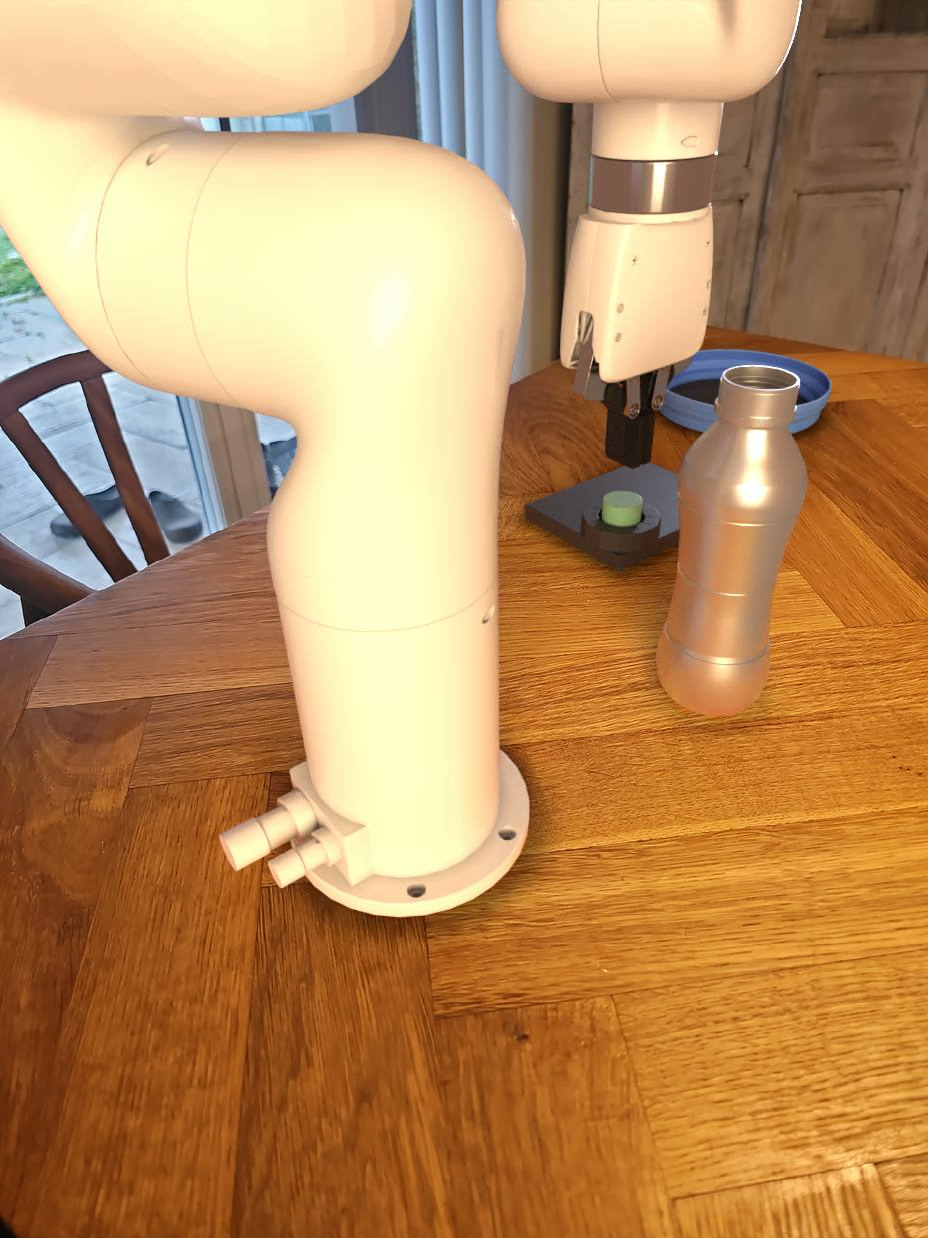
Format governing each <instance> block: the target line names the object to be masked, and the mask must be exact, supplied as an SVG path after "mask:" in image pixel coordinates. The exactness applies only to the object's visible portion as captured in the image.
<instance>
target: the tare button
mask: <svg viewBox="0 0 928 1238" xmlns="http://www.w3.org/2000/svg"><path fill="white" fill-rule="evenodd" d="M642 503H643V500H642V498H641V497H640V496H639V495H637V494H635V493H633V492H628V491H614V492H610V493H608V494H606V495H605V496H604V497H603V504H602V521H603V522H604V523H606V524H608V525H612V526H617V527H630V526H635V525H637V524H639V523H640V521H641V512H642Z"/></svg>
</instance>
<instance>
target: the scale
mask: <svg viewBox="0 0 928 1238" xmlns="http://www.w3.org/2000/svg"><path fill="white" fill-rule="evenodd" d="M614 491H628V492H633V493H635V494H637V495H639V496H640V497H641V498H642V500H643V503H642V512H641V521H640V523H639V524H637V525H635V526H630V527H617V526H612V525H608V524H606V523H604V522H603V521H602V504H603V497H604V496H605V495H606V494H608V493H610V492H614ZM525 520H528V521H529V522H531V523H533V524H535V525H536V526H538V527H540V528H542V529H543V530H544V531H547V532H548V533H550V534H552V535H554V536H555V537H557V538H559V539H561V540H563V541H564V542H566V543H567V544H570V545H571V546H573V547H575V548H577V549H578V550H580V551H582V552H583V553H585V554H587V555H588V556H590V557H592V558H594V559H595V560H598V561H600V562H601V563H603V564H604V565H606V566H608V567H610V568H611V569H613V570H615V571H617V572H621V571H623V570H625V569H627V568H629V567H632V566H635V565H636V564H638V563H640V562H642V561H644V560H647V559H649V558H650V557H653V556H655V555H657V554H659V553H662V552H663V551H665V550H667V549H670V548H672V547H674V546H676V545H679V535H680V530H679V504H678V473H676V472H673V471H670V470H669V469H667V468H664V467H662V466H659V465H657V464H654V463H652V462H651V461H650V462H649V463H647V464H645V465H640V466H639V467H637V468H635V469H631V468H629V467H626V466H624V465H623V466H622V467H619V468H616V469H614V470H611V471H609V472H606V473H603V474H601V475H598V476H596V477H593V478H591V479H588V480H585V481H582V482H581V483H577V484H575V485H573V486H570V487H568V488H564V489H562V490H560V491H559V490H558V491H557V492H554V493H552V494H549V495H547V496H544V497H541V498H539V499H536V500H533V501H531V502H529V503H526V504H525Z"/></svg>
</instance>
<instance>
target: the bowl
mask: <svg viewBox="0 0 928 1238" xmlns="http://www.w3.org/2000/svg"><path fill="white" fill-rule="evenodd" d="M745 365H759V366H769V367H775V368H780V369H783V370H787V371H789V372H791V373H793V374H795V375H797V376H798V377H799V379H800V387H799V392H798V396H797V401H796V406H797V411H796V416H795V419H794V420H793V421H792V422H790V423H788V424H787V428H788V430H789V431H790V433H791V435H792V434H796V433H799V432H802V431H804V430H807V429H809V428H810V427H811V426H813V425H814V424H815V423H817V421H818V420H819V418H820V415H821V412H822V410H823V409H824V408H825V406H826V405H827V404H828V401H829V399H830V398H831V394H832V388H833V384H832V380H831V378H830V377H829V375H828V374H827V373H825V372H824V371H823V370H821V369H820V368H818V367H816V366H815V365H812V364H810V363H808V362H805V361H802V360H799V359H797V358H793V357H790V356H785V355H781V354H777V353H771V352H765V351H759V350H750V349H737V348H736V349H735V348H733V349H731V348H730V349H729V348H719V349H703V350H701V349H700V350H698V351H697V352H696V353H695V354H694V355H693V360H692V363H691V365H690V366H689V367H688V368H686V369H685V370H683V371H682V372H680V373H679V374H677V375H676V376H674V377H673V379H672V380H671V382H670V383H669V385H668V386H667V388H666V392H665V397H664V402H663V404H662V406H661V408H660V409H658V410H657V411H659V413H660V414H661V415H662V416H663V417H665V418H666V419H668V420H669V421H671V422H672V423H674V424H676V425H679V426H681V427H683V428H685V429H689V430H692V431H696V432H700V433H702V434H703V433H704V432H705V431H706V430H707V429H708V428H709V427H710V426H711V425H712V424H713V423H714V422H715V421H717V419H718V417H719V416H717V415H716V413H715V412H714V405H715V400H716V398H717V397H718V393H719V387H720V380H721V377H722V374H723V372H724V371H725V370H727V369H729V368H732V367H737V366H745Z"/></svg>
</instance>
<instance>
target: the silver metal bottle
mask: <svg viewBox="0 0 928 1238" xmlns="http://www.w3.org/2000/svg"><path fill="white" fill-rule="evenodd" d="M799 387H800V379H799V377H798V376H797V375H795V374H793V373H791V372H789V371H787V370H783V369H780V368H775V367H769V366H759V365H745V366H737V367H732V368H729V369H727V370H725V371H724V372H723V374H722V377H721V380H720V387H719V393H718V397H717V398H716V400H715V405H714V412H715V413H716V415H717V416H719V417H718V419H717V421H715V422H714V423H713V424H712V425H711V426H710V427H709V428H708V429H707V430H706V431H705V432H704V433H703V432H702V433H701V435H699V437H697V438H696V440H695V442H693V443H692V444H691V445H690V447H689V448H688V449H686V452H685V453H684V456H683V459H682V460H681V463H680V465H679V468H678V473H677V474H678V504H679V530H680V535H679V543H678V552H677V557H678V558H677V559H678V562H677V566H676V579H675V584H674V588H673V593H672V597H671V602H670V606H669V610H668V615H667V619H666V621H665V622H664V625H663V627H662V630H661V633H660V637H659V640H658V644H657V648H656V652H655V661H656V672H657V678H658V681H659V683H660V685H661V686H662V688H663V689H664V691H665V692H666V693H667V695H668V696H669V698H671V700H673V702H675V703H676V704H678V706H680V707H682V708H683V709H686V710H688V711H690V712H692V713H696V714H699V715H703V716H709V717H711V716H712V717H726V716H727V717H728V716H731V715H735V714H739V713H741V712H742V711H744V710H746V709H748V708H749V707H750V706H752V705H753V704H755V703H756V702H757V701H758V699H759V698H760V697H761V695H762V693H763V690H764V688H765V686H766V684H767V682H768V679H769V678H770V671H771V652H772V651H771V640H770V632H771V631H770V630H771V621H772V613H773V612H772V611H773V602H774V593H775V590H776V587H777V584H778V575H779V574H780V571H781V568H782V564H783V560H784V557H785V554H786V550H787V547H788V544H789V541H790V539H791V537H792V534H793V531H794V529H795V526H796V523H797V521H798V518H799V516H800V513H801V510H802V506H803V505H804V502H805V500H806V495H807V492H808V490H809V479H808V477H809V476H808V470H807V468H808V467H807V464H806V462H805V459H804V458H803V455H802V453H801V450H800V448H799V445H798V444H797V442H796V440H795V439H794V437H793V435H792V434H791V433H790V431H789V430H788V428H787V424H788V423H790V422H792V421H793V420H794V419H795V416H796V411H797V406H796V401H797V396H798V392H799Z"/></svg>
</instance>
